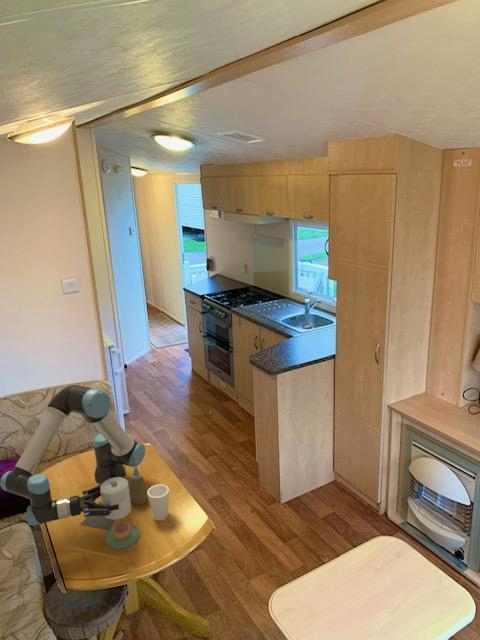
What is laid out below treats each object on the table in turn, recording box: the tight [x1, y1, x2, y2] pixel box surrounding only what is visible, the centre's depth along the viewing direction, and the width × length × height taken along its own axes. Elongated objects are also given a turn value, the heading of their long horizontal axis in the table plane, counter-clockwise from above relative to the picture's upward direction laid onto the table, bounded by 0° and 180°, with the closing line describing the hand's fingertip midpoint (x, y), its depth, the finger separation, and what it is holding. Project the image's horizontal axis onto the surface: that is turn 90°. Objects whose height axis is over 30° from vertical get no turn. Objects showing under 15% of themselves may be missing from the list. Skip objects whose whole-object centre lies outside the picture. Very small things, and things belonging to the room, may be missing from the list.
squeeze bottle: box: [129, 466, 148, 506], centre depth 226 cm, size 8×8×18 cm
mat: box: [79, 501, 117, 531], centre depth 220 cm, size 16×14×1 cm
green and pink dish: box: [104, 521, 141, 550], centre depth 206 cm, size 14×14×5 cm
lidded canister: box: [100, 477, 132, 520], centre depth 201 cm, size 11×11×14 cm
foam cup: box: [147, 483, 170, 522], centre depth 217 cm, size 10×9×13 cm
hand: (125, 494), depth 202 cm, fingers closed on lidded canister, 11 cm apart
